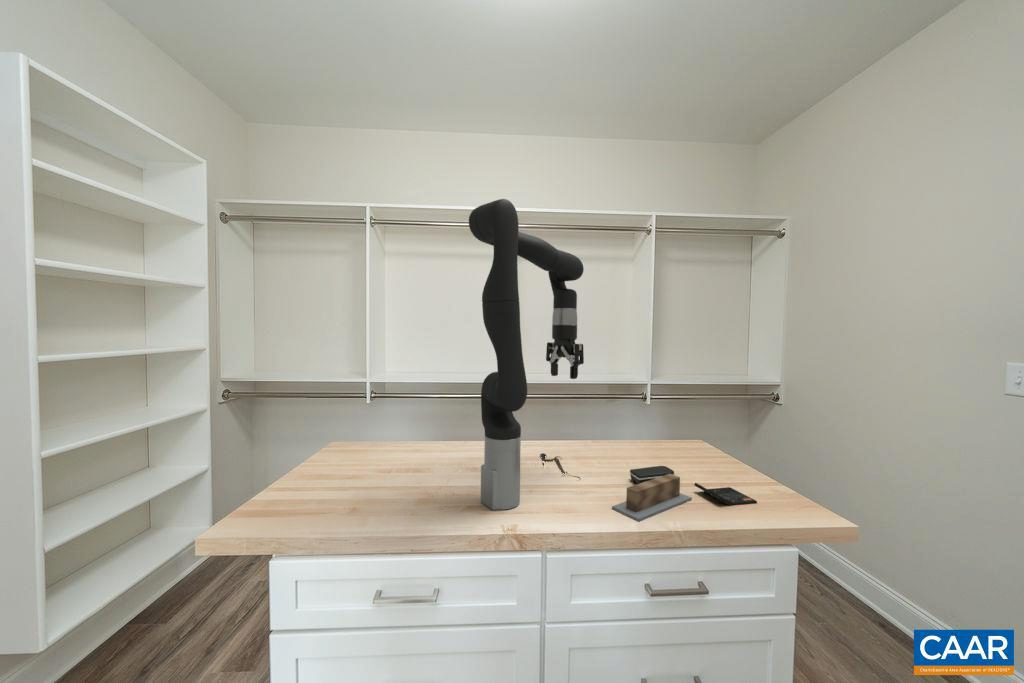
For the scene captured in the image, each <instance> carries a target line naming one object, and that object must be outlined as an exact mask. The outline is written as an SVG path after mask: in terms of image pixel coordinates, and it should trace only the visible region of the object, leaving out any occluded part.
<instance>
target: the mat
mask: <svg viewBox="0 0 1024 683" xmlns="http://www.w3.org/2000/svg"><path fill="white" fill-rule="evenodd" d="M692 500H693V498H692V496H689V495H686V494H683V493H681V492H680V496H677V497H675V498H672V499H670V500H667V501H664V502H662V503H659V504H657V505H654V506H652V507H649V508H646V509H644V510H641V511H639V512H634V511H632V510H630V509H628V508H626V500H625V501H624V502H620V503H618V504H615V505H614V504H613V505H612V506H611V509H612V510H613V511H616V512H618V513H620V512H621V513H620V514H622V513H623V514H622V515H624V514H625V515H624V516H626V517H628V516H629V518H630V517H631V518H630V519H632V518H633V520H635V522H636V521H637V522H641V521H644V520H646V519H649V518H650V517H653V515H654V516H656V515H659V514H661V513H663V512H665V510H666V511H668V510H670V509H674V508H675V507H678V506H680V505H682V504H685V503H687V501H688V502H690V501H692ZM648 517H649V518H648Z"/></svg>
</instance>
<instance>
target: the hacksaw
mask: <svg viewBox="0 0 1024 683" xmlns="http://www.w3.org/2000/svg"><path fill="white" fill-rule="evenodd" d="M540 455H541V457H542V458H541V457H540V458H541V461H548V462H549V461H550V462H554V461H553V460H555V461H556V462H555V463H556V466H557V465H558V466H557V468H558V469H559V471H560V470H561V471H560V473H562V476H563V475H564V474H565V472H566V473H567V474H568V471H565V470H564V468H563V467H562V464H561V462H560V459H563V457H562V456H554V457H553V458H550V459H549V458H548V459H546V457H547V454H546V453H540V454H539V456H540ZM545 456H546V457H545ZM563 473H564V474H563ZM564 476H565V475H564ZM568 476H570V477H571V475H570V474H568ZM572 477H573V478H578V480H577V481H578V482H579V481H580V480H581V477H580V476H578V475H577V476H575V475H572Z"/></svg>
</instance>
